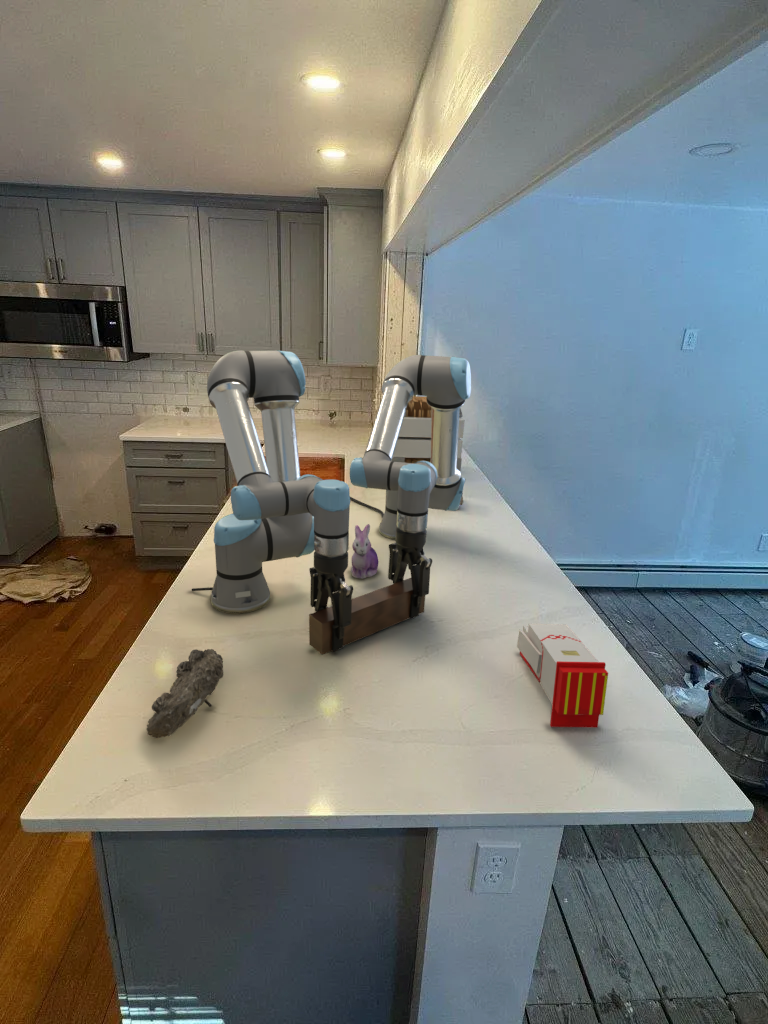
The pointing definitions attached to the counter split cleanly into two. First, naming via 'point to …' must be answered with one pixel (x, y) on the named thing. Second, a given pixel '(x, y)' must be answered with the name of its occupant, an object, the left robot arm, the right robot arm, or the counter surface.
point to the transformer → (420, 434)
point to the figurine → (363, 555)
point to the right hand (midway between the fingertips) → (406, 611)
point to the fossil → (186, 692)
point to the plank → (364, 615)
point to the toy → (565, 673)
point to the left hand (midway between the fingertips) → (329, 642)
